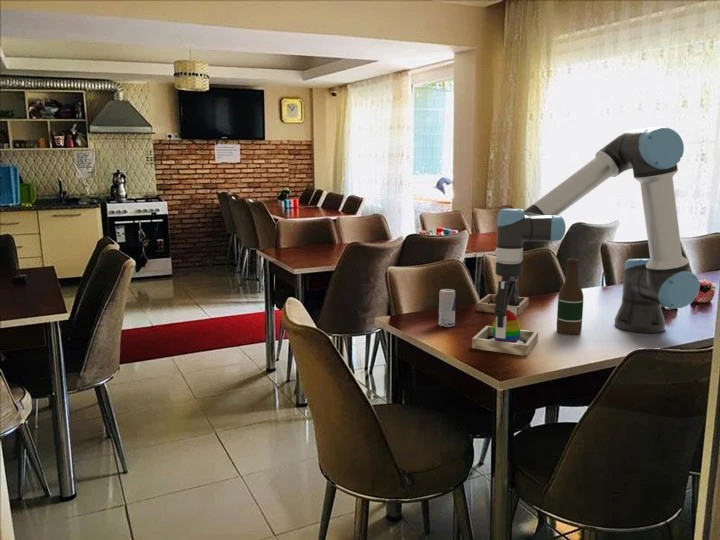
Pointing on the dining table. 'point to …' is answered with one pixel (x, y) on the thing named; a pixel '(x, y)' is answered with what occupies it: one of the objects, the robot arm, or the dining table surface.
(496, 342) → the shallow wooden tray
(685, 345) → the dining table surface
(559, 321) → the beer bottle
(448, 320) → the energy drink
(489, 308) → the weathered wood tray
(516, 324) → the decorative egg
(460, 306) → the dining table surface
